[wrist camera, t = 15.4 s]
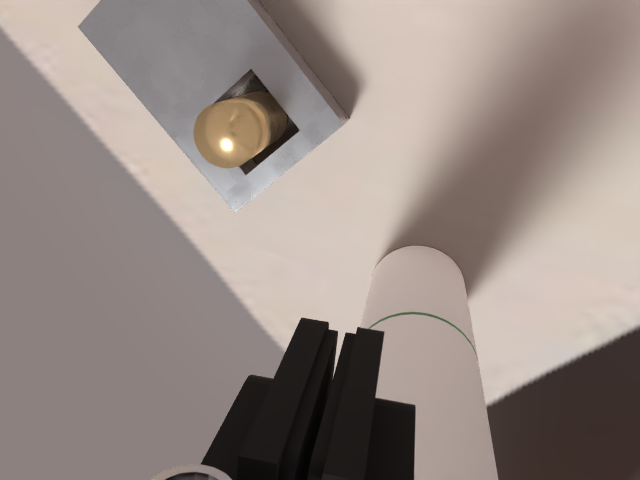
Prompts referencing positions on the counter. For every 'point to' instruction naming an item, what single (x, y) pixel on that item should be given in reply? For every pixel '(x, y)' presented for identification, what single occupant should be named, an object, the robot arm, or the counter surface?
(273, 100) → the tan cylindrical peg
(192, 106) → the jig plate
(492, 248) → the counter surface
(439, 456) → the cylindrical container
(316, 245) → the counter surface
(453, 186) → the counter surface
